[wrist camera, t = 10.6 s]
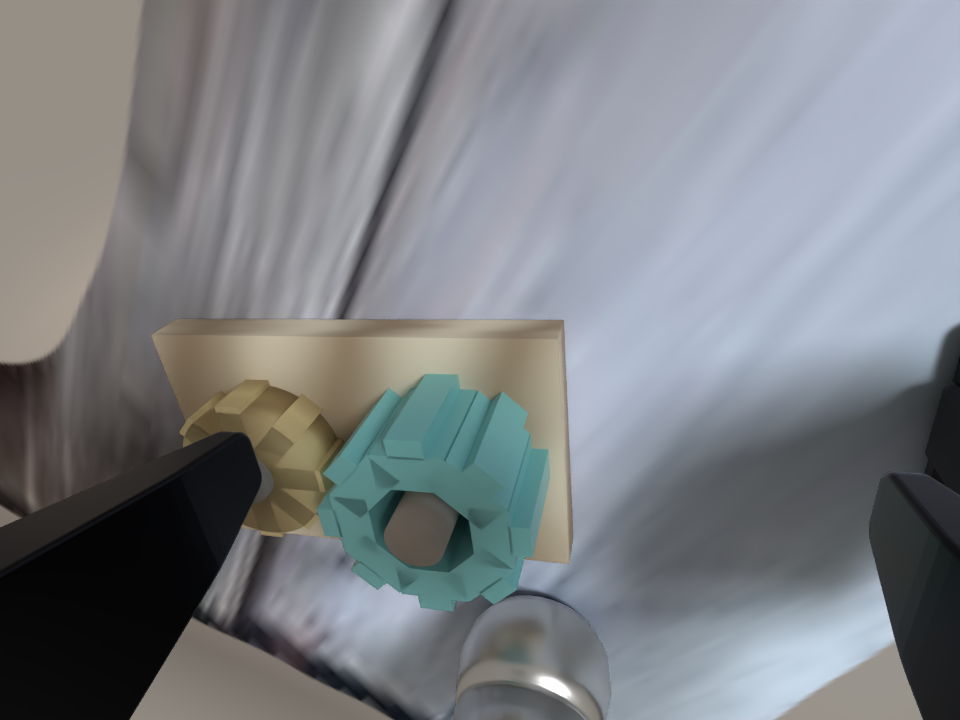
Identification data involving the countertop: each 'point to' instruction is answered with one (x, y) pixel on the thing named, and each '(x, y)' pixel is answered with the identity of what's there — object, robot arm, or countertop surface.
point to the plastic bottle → (532, 665)
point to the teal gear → (441, 490)
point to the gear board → (363, 407)
